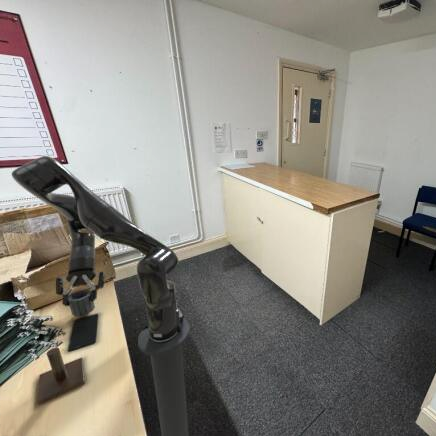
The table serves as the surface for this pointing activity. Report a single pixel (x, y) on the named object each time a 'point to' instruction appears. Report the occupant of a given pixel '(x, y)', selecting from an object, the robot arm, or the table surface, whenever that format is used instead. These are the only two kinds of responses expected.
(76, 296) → the grey ribbed hollow cylinder
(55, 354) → the peg stand
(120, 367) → the table surface
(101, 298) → the table surface
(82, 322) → the smartphone
